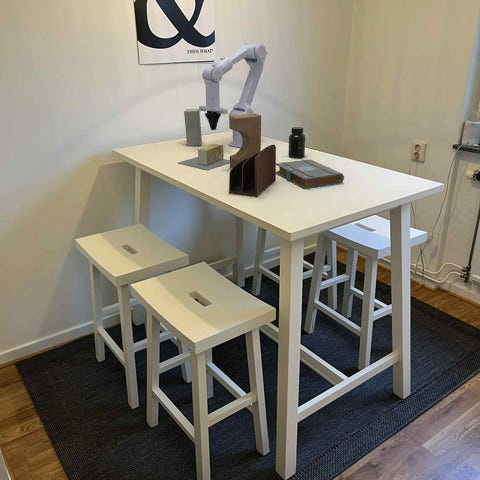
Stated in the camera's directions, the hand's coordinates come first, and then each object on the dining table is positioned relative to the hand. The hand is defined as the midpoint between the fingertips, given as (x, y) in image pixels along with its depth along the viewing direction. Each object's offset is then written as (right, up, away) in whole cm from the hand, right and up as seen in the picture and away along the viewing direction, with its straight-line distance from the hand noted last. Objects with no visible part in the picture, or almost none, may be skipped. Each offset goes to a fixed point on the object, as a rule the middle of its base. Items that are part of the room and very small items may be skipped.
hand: (213, 129), depth 207 cm
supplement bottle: (+35, -13, -4) cm, 37 cm away
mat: (-2, -16, -13) cm, 21 cm away
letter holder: (+16, -29, -41) cm, 53 cm away
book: (+36, -26, -32) cm, 55 cm away
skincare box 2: (+3, -11, -9) cm, 15 cm away
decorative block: (+13, -20, -20) cm, 31 cm away
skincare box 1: (-10, -3, +16) cm, 19 cm away
